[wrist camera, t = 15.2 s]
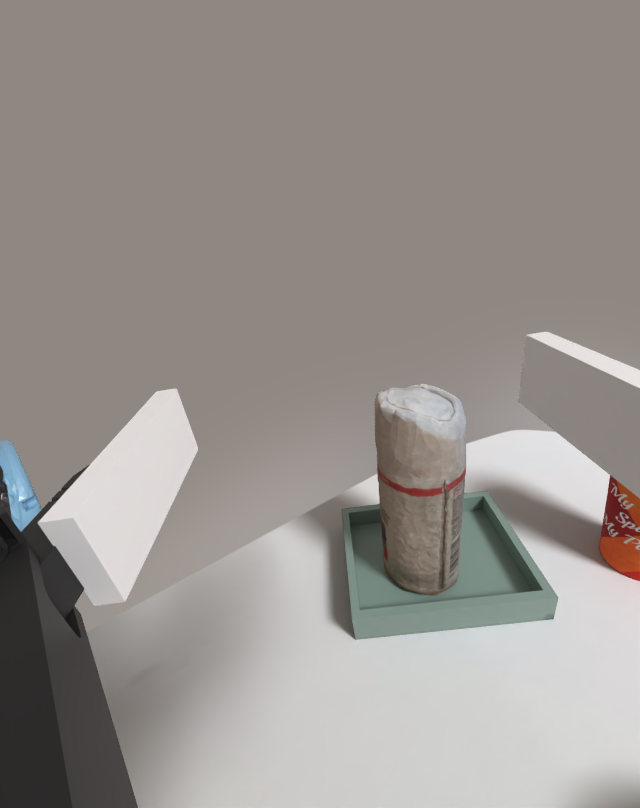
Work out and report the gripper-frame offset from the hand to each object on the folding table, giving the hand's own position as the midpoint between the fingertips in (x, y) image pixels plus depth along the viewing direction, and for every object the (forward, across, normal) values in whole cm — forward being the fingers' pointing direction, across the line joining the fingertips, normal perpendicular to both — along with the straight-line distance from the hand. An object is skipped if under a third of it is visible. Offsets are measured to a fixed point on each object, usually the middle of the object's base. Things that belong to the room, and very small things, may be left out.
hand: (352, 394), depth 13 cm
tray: (+14, +7, -29) cm, 33 cm away
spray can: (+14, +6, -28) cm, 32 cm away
